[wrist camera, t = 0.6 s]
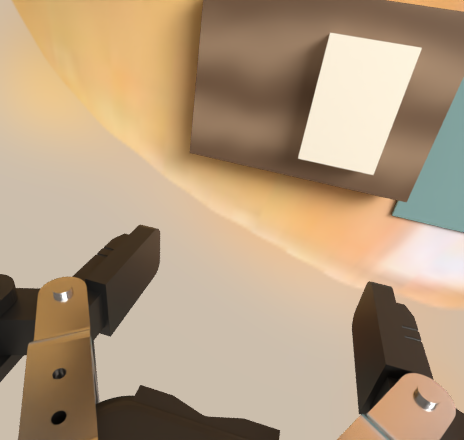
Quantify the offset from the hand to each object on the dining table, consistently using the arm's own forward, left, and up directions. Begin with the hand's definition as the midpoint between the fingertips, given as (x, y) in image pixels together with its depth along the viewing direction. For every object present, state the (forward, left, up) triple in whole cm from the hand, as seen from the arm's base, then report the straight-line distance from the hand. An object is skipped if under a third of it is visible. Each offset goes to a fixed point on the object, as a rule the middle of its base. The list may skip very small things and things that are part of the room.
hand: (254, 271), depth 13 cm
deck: (-4, +1, -23) cm, 23 cm away
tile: (-4, +4, -19) cm, 20 cm away
